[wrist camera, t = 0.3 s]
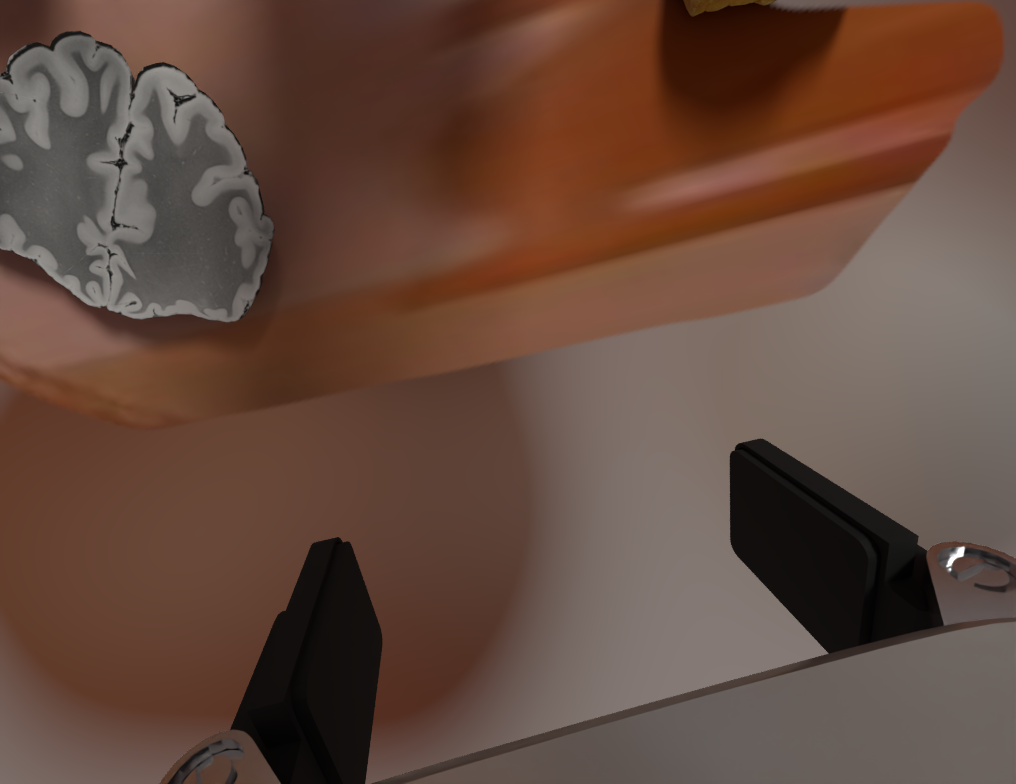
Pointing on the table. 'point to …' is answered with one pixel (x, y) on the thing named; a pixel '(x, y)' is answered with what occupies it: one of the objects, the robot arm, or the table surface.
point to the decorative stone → (717, 5)
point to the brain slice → (127, 184)
